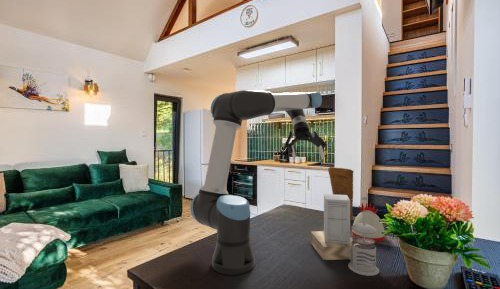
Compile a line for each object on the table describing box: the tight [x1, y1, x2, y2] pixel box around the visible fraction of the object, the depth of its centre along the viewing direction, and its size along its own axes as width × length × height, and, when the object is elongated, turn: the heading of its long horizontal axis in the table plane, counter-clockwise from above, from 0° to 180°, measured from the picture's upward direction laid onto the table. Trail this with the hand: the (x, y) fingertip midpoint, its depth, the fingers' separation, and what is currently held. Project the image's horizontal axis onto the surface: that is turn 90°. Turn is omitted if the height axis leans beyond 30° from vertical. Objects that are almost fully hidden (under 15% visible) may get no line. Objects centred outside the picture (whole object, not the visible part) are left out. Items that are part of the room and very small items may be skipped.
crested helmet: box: [351, 202, 386, 243], centre depth 116 cm, size 14×14×15 cm
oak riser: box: [310, 230, 361, 261], centre depth 100 cm, size 14×15×5 cm
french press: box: [343, 195, 380, 277], centre depth 87 cm, size 10×12×25 cm
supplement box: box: [323, 193, 351, 245], centre depth 99 cm, size 10×9×17 cm
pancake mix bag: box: [327, 166, 354, 221], centre depth 144 cm, size 7×19×28 cm, turn 17°
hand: (308, 157), depth 117 cm, fingers open, 13 cm apart
